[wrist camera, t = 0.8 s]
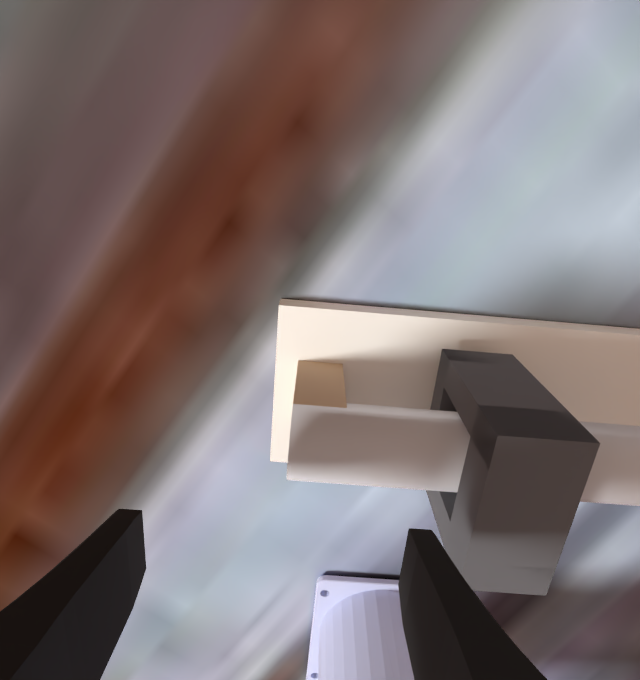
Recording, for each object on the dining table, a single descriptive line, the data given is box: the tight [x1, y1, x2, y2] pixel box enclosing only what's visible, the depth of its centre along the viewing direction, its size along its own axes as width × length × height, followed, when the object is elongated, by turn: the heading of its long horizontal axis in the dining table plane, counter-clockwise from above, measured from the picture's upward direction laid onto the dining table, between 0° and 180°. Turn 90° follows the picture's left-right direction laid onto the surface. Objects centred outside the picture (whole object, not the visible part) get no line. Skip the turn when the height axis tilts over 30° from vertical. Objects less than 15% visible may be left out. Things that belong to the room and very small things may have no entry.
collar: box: [426, 349, 600, 596], centre depth 17 cm, size 6×3×7 cm, turn 175°
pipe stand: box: [270, 299, 640, 506], centre depth 19 cm, size 8×29×7 cm, turn 85°
